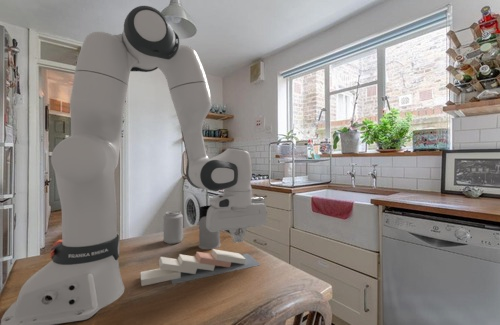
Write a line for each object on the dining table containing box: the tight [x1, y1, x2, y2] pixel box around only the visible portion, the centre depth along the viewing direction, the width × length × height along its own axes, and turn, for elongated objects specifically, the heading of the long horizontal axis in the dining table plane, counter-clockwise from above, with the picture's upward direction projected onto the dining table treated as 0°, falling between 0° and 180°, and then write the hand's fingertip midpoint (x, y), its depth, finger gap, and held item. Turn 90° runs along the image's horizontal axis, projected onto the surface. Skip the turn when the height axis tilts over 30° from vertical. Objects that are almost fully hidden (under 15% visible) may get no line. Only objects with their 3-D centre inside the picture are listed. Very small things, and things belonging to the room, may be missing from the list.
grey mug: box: [198, 204, 221, 250], centre depth 96 cm, size 9×14×15 cm, turn 178°
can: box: [163, 210, 184, 245], centre depth 98 cm, size 8×8×12 cm
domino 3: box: [177, 253, 215, 271], centre depth 72 cm, size 2×5×10 cm
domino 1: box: [140, 267, 181, 287], centre depth 68 cm, size 2×5×10 cm
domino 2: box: [158, 256, 197, 274], centre depth 70 cm, size 2×5×10 cm
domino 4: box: [194, 251, 231, 267], centre depth 74 cm, size 2×5×10 cm
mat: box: [170, 253, 262, 285], centre depth 75 cm, size 27×10×1 cm, turn 116°
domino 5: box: [210, 248, 246, 264], centre depth 77 cm, size 2×5×10 cm
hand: (237, 241), depth 78 cm, fingers closed
